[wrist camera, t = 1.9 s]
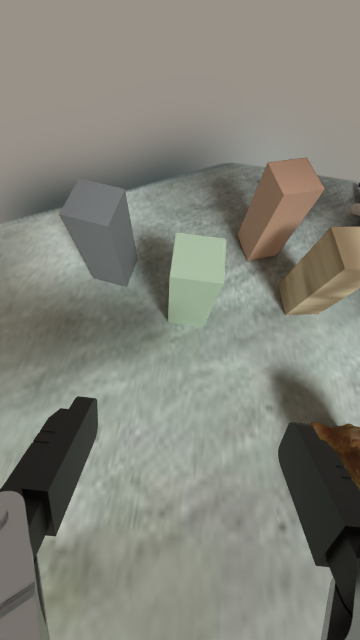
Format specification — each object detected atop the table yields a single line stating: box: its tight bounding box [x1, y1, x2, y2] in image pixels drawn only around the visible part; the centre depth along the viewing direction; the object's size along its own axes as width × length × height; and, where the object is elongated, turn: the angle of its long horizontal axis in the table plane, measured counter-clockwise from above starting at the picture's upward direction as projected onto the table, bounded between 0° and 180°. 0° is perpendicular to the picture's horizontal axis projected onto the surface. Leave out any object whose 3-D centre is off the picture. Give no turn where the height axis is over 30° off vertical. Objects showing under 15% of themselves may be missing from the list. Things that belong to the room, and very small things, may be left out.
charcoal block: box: [59, 178, 137, 287], centre depth 24 cm, size 4×4×10 cm
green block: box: [168, 233, 226, 327], centre depth 23 cm, size 4×4×10 cm
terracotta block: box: [238, 158, 325, 261], centre depth 27 cm, size 4×4×10 cm
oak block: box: [278, 227, 360, 315], centre depth 24 cm, size 4×4×10 cm
